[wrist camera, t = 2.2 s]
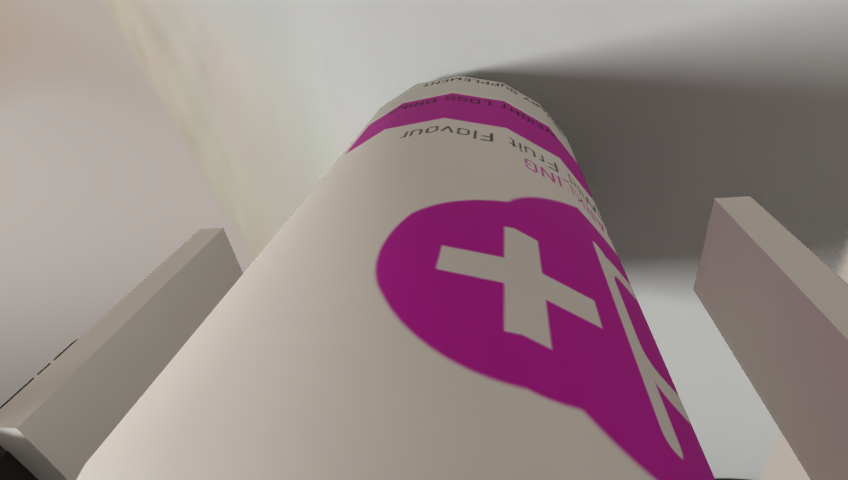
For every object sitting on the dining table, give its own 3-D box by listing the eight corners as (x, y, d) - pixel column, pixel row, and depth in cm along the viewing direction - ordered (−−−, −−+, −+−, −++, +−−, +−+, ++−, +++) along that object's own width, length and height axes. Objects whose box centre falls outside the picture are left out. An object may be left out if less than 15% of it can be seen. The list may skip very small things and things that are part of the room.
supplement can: (474, 15, 14) (224, 574, 1) (616, 198, 16) (1052, 1015, 4) (315, 170, 17) (-175, 716, 5) (451, 300, 20) (377, 884, 7)
